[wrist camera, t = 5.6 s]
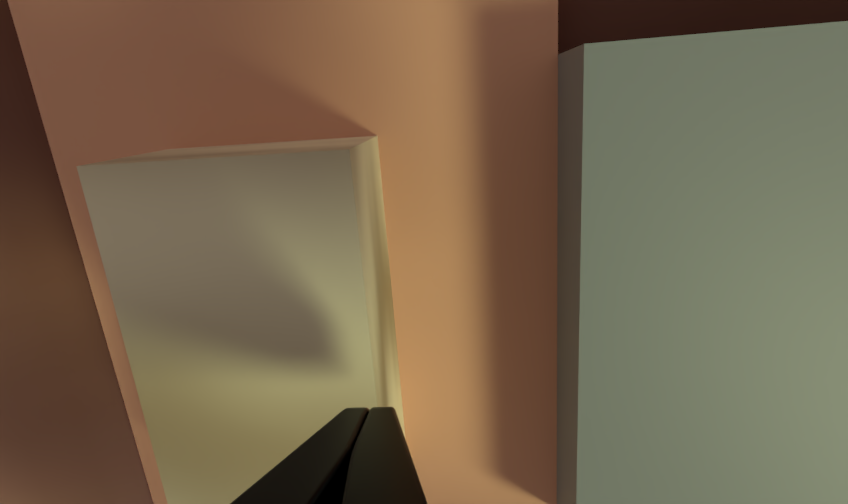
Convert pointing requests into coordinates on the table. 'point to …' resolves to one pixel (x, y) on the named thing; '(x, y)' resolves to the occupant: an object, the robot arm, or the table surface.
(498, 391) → the mat
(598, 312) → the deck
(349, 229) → the birch block
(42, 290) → the table surface
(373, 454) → the robot arm
